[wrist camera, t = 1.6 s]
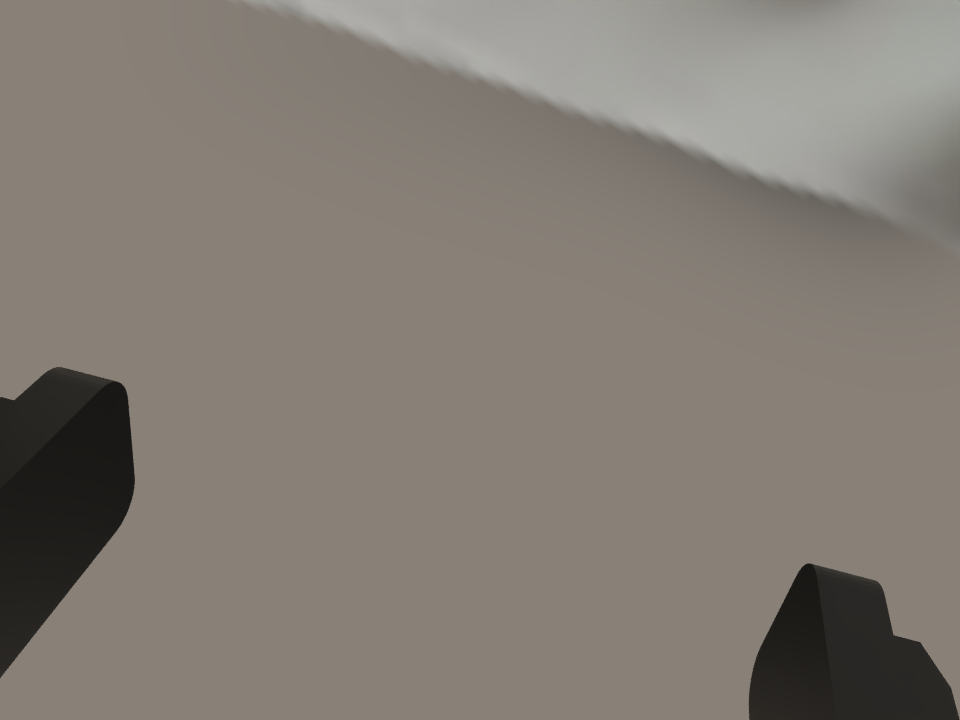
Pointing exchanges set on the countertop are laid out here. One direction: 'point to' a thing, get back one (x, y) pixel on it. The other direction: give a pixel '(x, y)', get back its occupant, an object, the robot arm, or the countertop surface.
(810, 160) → the countertop surface
